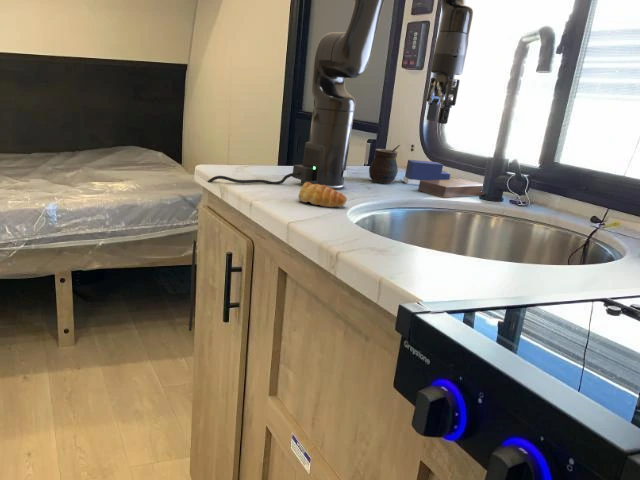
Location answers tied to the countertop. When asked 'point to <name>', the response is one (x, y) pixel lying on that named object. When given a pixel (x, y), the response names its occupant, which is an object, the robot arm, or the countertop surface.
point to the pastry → (321, 195)
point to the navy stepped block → (424, 172)
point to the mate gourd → (384, 166)
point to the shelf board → (451, 187)
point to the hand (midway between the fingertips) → (436, 121)
